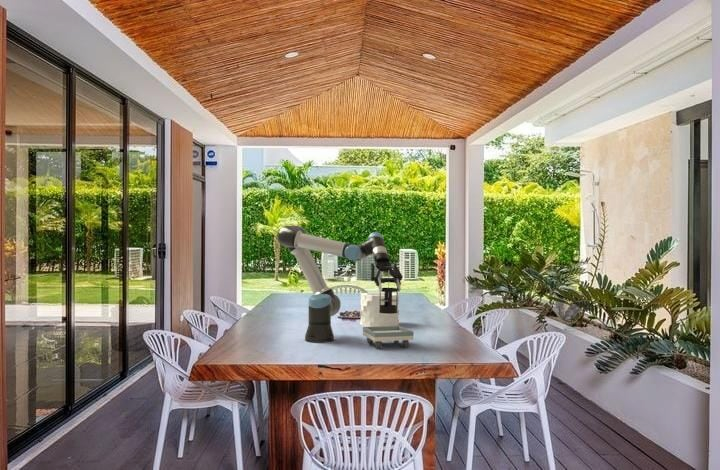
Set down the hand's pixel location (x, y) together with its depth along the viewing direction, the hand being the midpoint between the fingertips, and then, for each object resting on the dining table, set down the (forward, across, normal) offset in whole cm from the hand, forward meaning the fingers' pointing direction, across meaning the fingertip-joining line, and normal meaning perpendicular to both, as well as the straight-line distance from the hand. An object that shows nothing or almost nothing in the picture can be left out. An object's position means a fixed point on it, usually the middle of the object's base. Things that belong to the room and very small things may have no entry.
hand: (390, 290), depth 303 cm
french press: (+6, 0, -10) cm, 12 cm away
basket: (-30, -17, -70) cm, 78 cm away
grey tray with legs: (+17, 0, -22) cm, 28 cm away
